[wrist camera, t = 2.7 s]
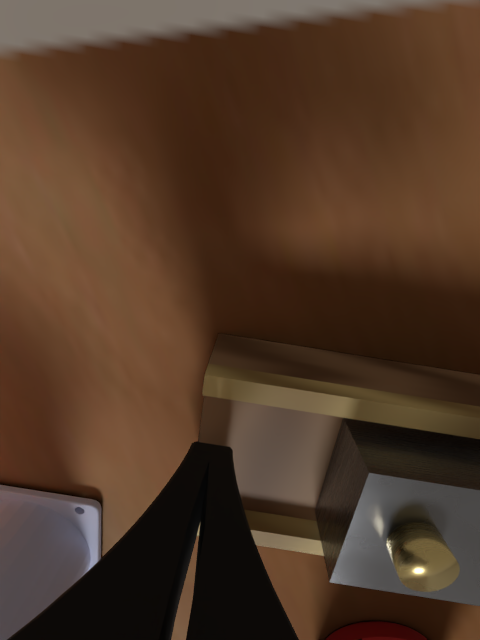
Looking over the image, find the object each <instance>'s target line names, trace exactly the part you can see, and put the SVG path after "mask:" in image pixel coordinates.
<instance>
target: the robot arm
mask: <svg viewBox="0 0 480 640" xmlns="http://www.w3.org/2000/svg"><path fill="white" fill-rule="evenodd" d="M199 525H200V531H199V541H198V552H197V562H196V573H195V583H194V594H193V602H192V607H191V613H190V619H189V625H188V631H187V637H186V640H299V639H298V637H297V635H296V633H295V631H294V629H293V627H292V625H291V623H290V621H289V619H288V617H287V615H286V613H285V611H284V609H283V607H282V604H281V602H280V600H279V598H278V596H277V594H276V592H275V590H274V588H273V586H272V583H271V581H270V579H269V576H268V574H267V572H266V569H265V567H264V564H263V562H262V559H261V557H260V554H259V552H258V549H257V547H256V544H255V541H254V538H253V536H252V533H251V530H250V527H249V524H248V521H247V518H246V514H245V511H244V508H243V504H242V500H241V496H240V493H239V489H238V484H237V480H236V475H235V469H234V462H233V450H232V449H231V447H228V446H221V445H215V444H209V443H202V442H194V443H192V445H191V447H190V449H189V451H188V453H187V455H186V456H185V458H184V460H183V461H182V463H181V464H180V466H179V467H178V469H177V470H176V472H175V473H174V475H173V476H172V477H171V479H170V480H169V482H168V483H167V484H166V486H165V487H164V489H163V490H162V491H161V493H160V494H159V495H158V496H157V497H156V499H155V500H154V501H153V502H152V504H151V505H150V506H149V507H148V509H147V510H146V511H145V512H144V513H143V515H142V516H141V517H140V518H139V519H138V520H137V522H136V523H135V524H134V525H133V526H132V527H131V528H130V529H129V530H128V531H127V533H126V534H125V535H124V536H123V537H122V538H121V539H120V540H119V541H118V542H117V543H116V544H115V545H114V546H113V547H112V548H111V549H110V550H109V551H108V552H107V553H106V554H105V555H104V556H103V557H102V558H101V505H100V503H99V502H98V501H96V500H93V499H88V498H82V497H75V496H69V495H63V494H56V493H50V492H44V491H37V490H31V489H25V488H18V487H12V486H6V485H0V640H171V637H172V632H173V627H174V622H175V617H176V613H177V609H178V604H179V600H180V596H181V593H182V589H183V585H184V581H185V578H186V574H187V570H188V566H189V563H190V559H191V555H192V551H193V548H194V544H195V540H196V536H197V533H198V529H199Z"/></svg>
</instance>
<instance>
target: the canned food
mask: <svg viewBox="0 0 480 640" xmlns="http://www.w3.org/2000/svg"><path fill="white" fill-rule="evenodd" d="M325 640H427V638H426V637H424V636H423V635H421V634H420V633H419V632H417V631H415V630H413V629H411V628H409V627H407V626H403V625H400V624H397V623H391V622H385V621H368V622H360V623H355V624H351V625H348V626H345V627H342V628H340V629H338V630H337V631H335V632H333V633H332V634H331V635H330V636H328V637H327V638H326V639H325Z"/></svg>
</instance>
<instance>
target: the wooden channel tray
mask: <svg viewBox="0 0 480 640" xmlns="http://www.w3.org/2000/svg"><path fill="white" fill-rule="evenodd" d="M202 395H204V401H203V409H202V417H201V424H200V432H199V439H198V442H202V443H209V444H215V445H221V446H228V447H231V449H232V450H233V462H234V469H235V475H236V480H237V484H238V489H239V493H240V496H241V500H242V504H243V508H244V511H245V514H246V518H247V521H248V524H249V527H250V530H251V533H252V536H253V538H254V541H255V544H256V545H259V546H265V547H271V548H278V549H284V550H290V551H297V552H303V553H309V554H316V555H322V556H324V554H323V549H322V544H321V539H320V535H319V530H318V525H317V520H316V516H315V508H316V505H317V502H318V498H319V495H320V492H321V488H322V485H323V482H324V479H325V475H326V472H327V469H328V466H329V462H330V459H331V456H332V452H333V449H334V446H335V443H336V439H337V436H338V433H339V430H340V426H341V423H342V420H343V418H349V419H356V420H362V421H368V422H374V423H381V424H387V425H393V426H400V427H406V428H412V429H419V430H425V431H431V432H437V433H444V434H450V435H456V436H463V437H469V438H475V439H480V375H478V374H472V373H466V372H459V371H453V370H447V369H440V368H434V367H428V366H422V365H415V364H409V363H403V362H396V361H390V360H384V359H378V358H371V357H365V356H359V355H352V354H346V353H340V352H334V351H327V350H321V349H315V348H308V347H302V346H296V345H290V344H283V343H277V342H271V341H264V340H258V339H252V338H246V337H239V336H233V335H227V334H220V333H218V336H217V339H216V342H215V345H214V348H213V351H212V354H211V357H210V360H209V363H208V366H207V369H206V372H205V376H204V384H203V392H202ZM199 531H200V525H199V529H198V533H197V536H199Z"/></svg>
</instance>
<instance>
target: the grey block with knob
mask: <svg viewBox="0 0 480 640" xmlns="http://www.w3.org/2000/svg"><path fill="white" fill-rule="evenodd" d="M315 516H316V520H317V525H318V530H319V535H320V539H321V544H322V549H323V554H324V559H325V563H326V568H327V573H328V578H329V582H331V583H337V584H344V585H350V586H356V587H363V588H369V589H375V590H382V591H388V592H394V593H401V594H407V595H413V596H420V597H426V598H432V599H439V600H445V601H451V602H458V603H464V604H470V605H477V606H480V439H475V438H469V437H463V436H456V435H450V434H444V433H437V432H431V431H425V430H419V429H412V428H406V427H400V426H393V425H387V424H381V423H374V422H368V421H362V420H356V419H349V418H343V420H342V423H341V426H340V430H339V433H338V436H337V439H336V443H335V446H334V449H333V452H332V456H331V459H330V462H329V466H328V469H327V472H326V475H325V479H324V482H323V485H322V488H321V492H320V495H319V498H318V502H317V505H316V508H315Z"/></svg>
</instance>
